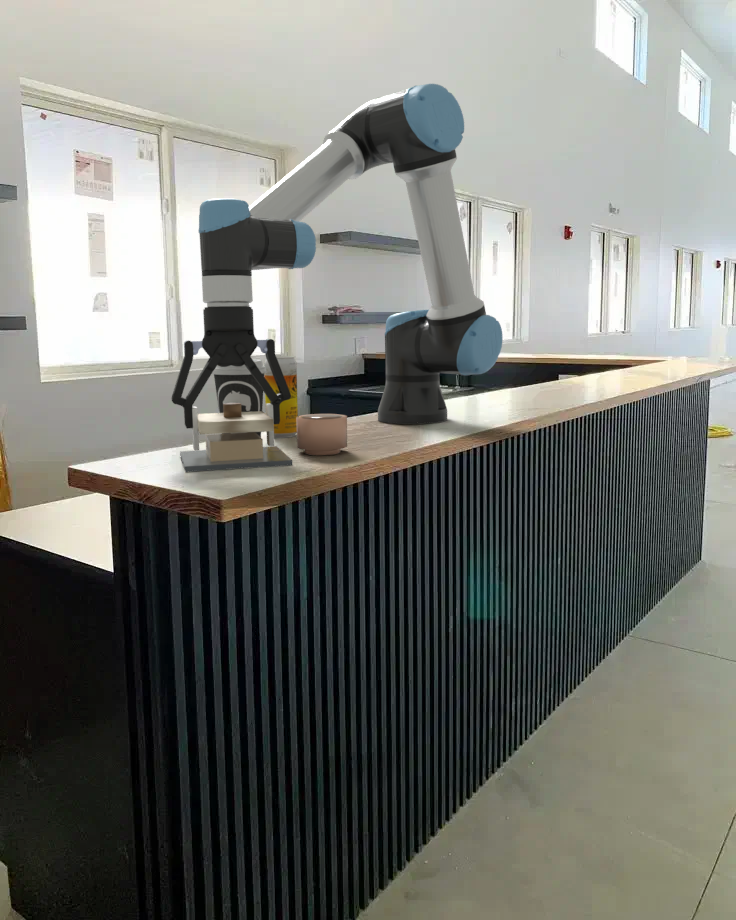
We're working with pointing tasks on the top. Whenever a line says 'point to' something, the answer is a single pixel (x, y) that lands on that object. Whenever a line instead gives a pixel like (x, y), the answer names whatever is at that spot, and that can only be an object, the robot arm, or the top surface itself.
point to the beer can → (287, 407)
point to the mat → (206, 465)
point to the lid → (234, 421)
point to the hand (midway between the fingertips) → (233, 446)
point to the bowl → (321, 433)
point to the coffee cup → (239, 388)
